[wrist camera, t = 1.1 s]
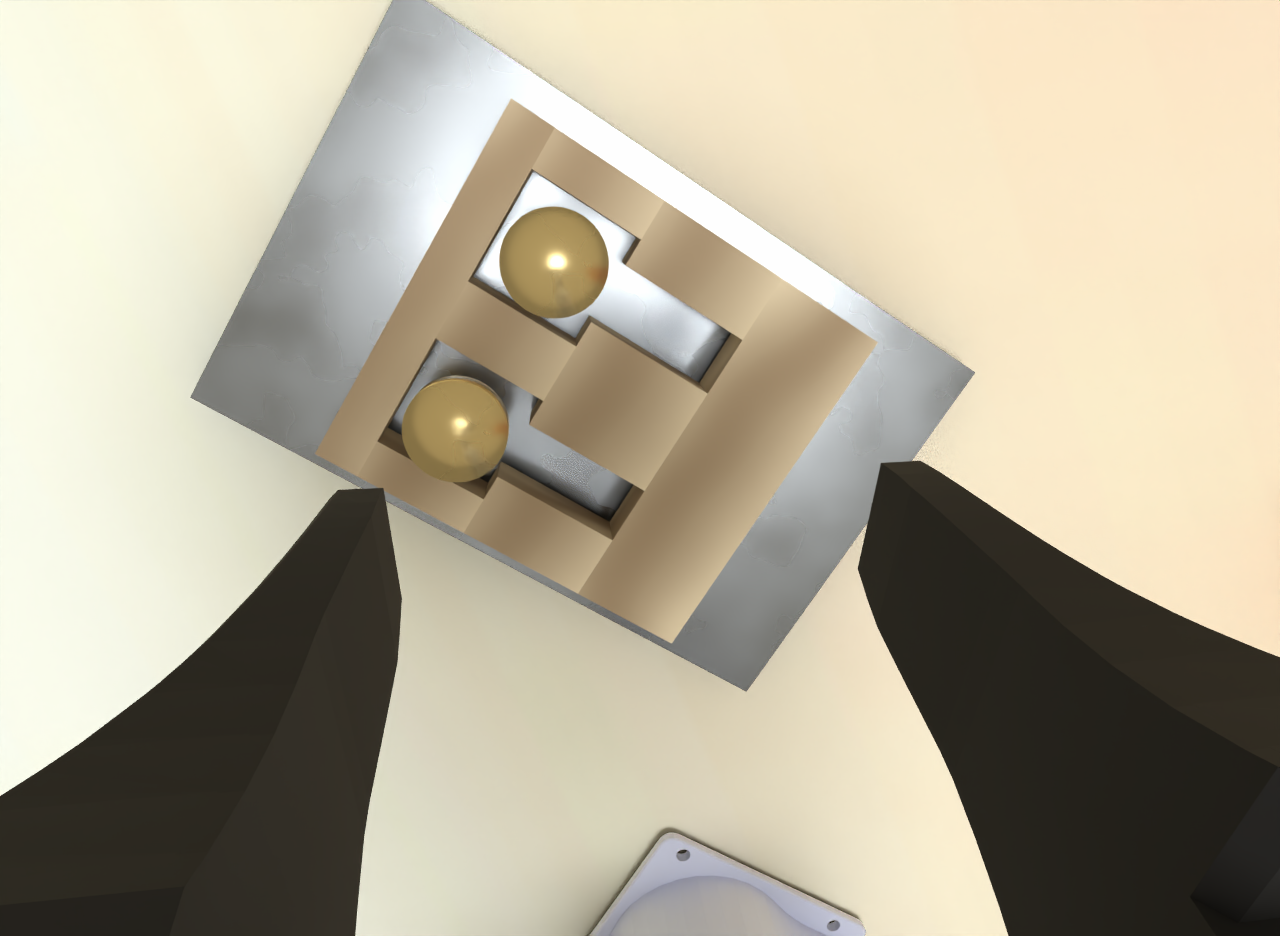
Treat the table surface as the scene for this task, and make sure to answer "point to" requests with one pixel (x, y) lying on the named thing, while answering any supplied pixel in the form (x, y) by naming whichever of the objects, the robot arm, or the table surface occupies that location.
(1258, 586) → the table surface
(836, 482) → the silver double slider board
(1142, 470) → the table surface
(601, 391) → the panel
